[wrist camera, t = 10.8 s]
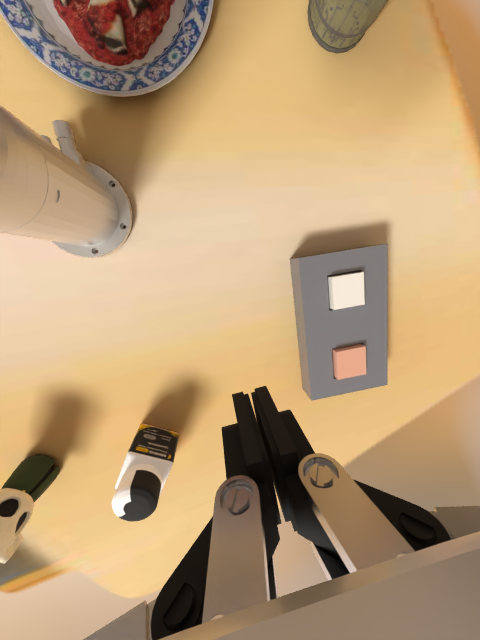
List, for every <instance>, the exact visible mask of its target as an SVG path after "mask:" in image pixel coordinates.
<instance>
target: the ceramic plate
mask: <svg viewBox="0 0 480 640" xmlns="http://www.w3.org/2000/svg"><path fill="white" fill-rule="evenodd" d="M213 3H214V0H0V13H1V15H2V16H3V18H4V19H5V21H6V23H7V24H8V26H9V27H10V28H11V30H12V31H13V32H14V34H15V35H16V36H17V38H18V39H19V40H20V41H21V42H22V43H23V45H24V46H25V47H26V48H27V49H28V50H29V51H30V52H31V53H32V54H33V55H34V56H35V57H36V58H37V59H38V60H39V61H40V62H41V63H43V64H44V65H45V66H46V67H47V68H48V69H50V70H51V71H53V72H54V73H55V74H57V75H58V76H60V77H61V78H63V79H65V80H66V81H68V82H70V83H72V84H74V85H76V86H78V87H80V88H83V89H85V90H88V91H91V92H94V93H98V94H101V95H107V96H116V97H128V96H137V95H142V94H146V93H149V92H152V91H155V90H157V89H159V88H161V87H163V86H164V85H166V84H168V83H170V82H171V81H172V80H173V79H175V78H176V77H177V76H178V75H179V74H180V73H181V72H183V71H184V70H185V68H186V67H187V66H188V65H189V64H190V62H191V61H192V60H193V58H194V56H195V55H196V53H197V52H198V50H199V48H200V47H201V44H202V42H203V39H204V37H205V35H206V32H207V29H208V26H209V23H210V19H211V14H212V9H213Z"/></svg>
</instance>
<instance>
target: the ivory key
mask: <svg viewBox="0 0 480 640" xmlns="http://www.w3.org/2000/svg"><path fill="white" fill-rule="evenodd" d="M327 281H328V297H329V308H330V309H333V310H337V309H342V308H348V307H353V306H359V305H364V304H365V299H364V272H347V273H341V274H335V275H329V276H327Z"/></svg>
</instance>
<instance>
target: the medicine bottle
mask: <svg viewBox="0 0 480 640" xmlns="http://www.w3.org/2000/svg"><path fill="white" fill-rule="evenodd" d="M178 437H179V433H177V432H173V431H169V430H166V429H162V428H158V427H155V426H151V425H147V424H143V423H142V424H141V425H140V427H139V429H138V431H137V433H136V435H135V438H134V440H133V442H132V444H131V446H130V448H129V451H128V453H127V455H126V458H125V461H124V463H123V466H122V469H121V471H120V474H119V477H118V479H117V482H116V485H115V489H117V490H116V492H115V494H114V497H113V499H112V508H113V510H114V512H115V514H116V515H117V516H118V517H120V518H121V519H123V520H126V521H140V520H143V519H145V518H147V517H148V516H150V515H151V514H152V513H153V512H154V511H155V509H156V507H157V503H158V499H159V496H160V494H161V491H162V489H163V487H164V484H165V482H166V480H167V477H168V475H169V472H170V470H171V468H172V465H173V462H174V457H175V452H176V447H177V442H178Z"/></svg>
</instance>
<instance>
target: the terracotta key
mask: <svg viewBox="0 0 480 640" xmlns="http://www.w3.org/2000/svg"><path fill="white" fill-rule="evenodd" d="M332 361H333V376H334V377H335V378H337V379H338V380H340V379H345V378H350V377H355V376H359V375H364V374H366V346H364V345H362V344H360V343H359V344H354V345H348V346H343V347H338V348H333V349H332Z"/></svg>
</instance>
